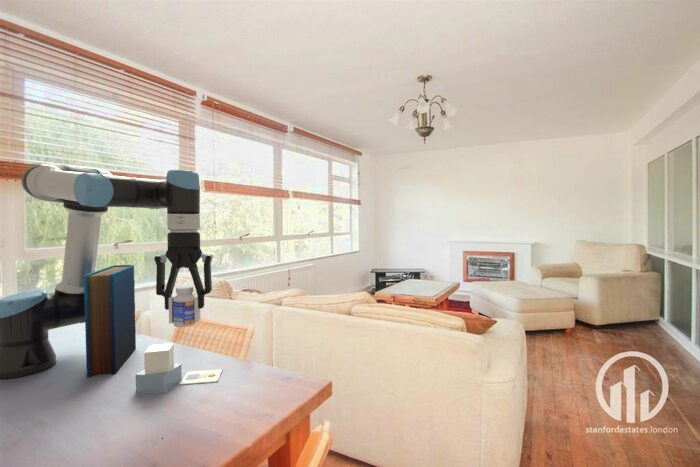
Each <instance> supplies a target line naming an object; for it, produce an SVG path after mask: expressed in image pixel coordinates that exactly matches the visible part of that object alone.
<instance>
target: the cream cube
mask: <svg viewBox="0 0 700 467" xmlns="http://www.w3.org/2000/svg"><path fill="white" fill-rule="evenodd" d="M174 347H175V345H174V342H170V343H168V342H167V343H159V344H150V345H149V346H148V347H147V349H146V350H145V351H144V354H143V356H144V358H143V359H144V362H143V363H144V369H145V375H147V374H156V373H165V372H170V370H171V368H172V366H173V364H174V362H175V361H174V359H175V356H174V355H175V353H174V352H175V351H174V349H175V348H174Z"/></svg>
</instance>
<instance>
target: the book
mask: <svg viewBox="0 0 700 467" xmlns="http://www.w3.org/2000/svg"><path fill="white" fill-rule="evenodd" d="M84 296H85V322H84V323H85V324H84V325H85V326H84V327H85V328H84V329H85V330H84V331H85V360H86V361H85V362H86V378H91V377H92V376H94V375H98V374H99V375H100V374H107V373H111V374H112V375H117V373H118V372H119V370H120V369H121V368H122V367H123V365H124V364H125V363H126V362H127V361H128V360H129V358H130V357H131V356H132V354H134V352H135V351H136V349H137V346H136V345H137V344H136V343H137V342H136V339H137V338H136V334H137V333H136V301H135V300H136V296H135V265H133V264H121V265H120V264H118V265H110V266H107V267H103V268H101V269H98V270H95V272H92V273H89V274H86V275H84Z"/></svg>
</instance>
